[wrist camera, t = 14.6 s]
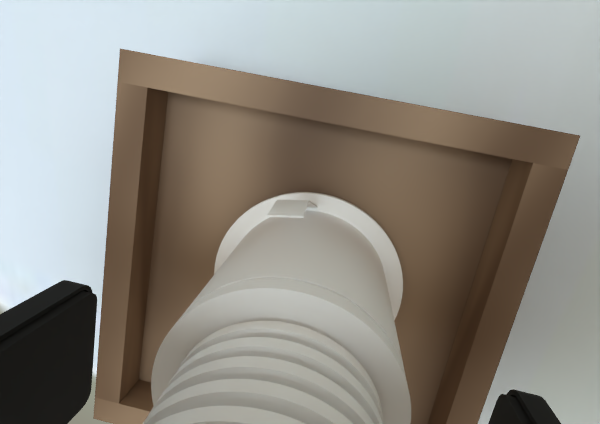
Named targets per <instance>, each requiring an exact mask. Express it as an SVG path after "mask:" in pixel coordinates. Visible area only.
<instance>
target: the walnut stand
mask: <svg viewBox="0 0 600 424" xmlns="http://www.w3.org/2000/svg"><path fill="white" fill-rule="evenodd" d="M579 138H580V136H579V135H574V134H568V133H563V132H558V131H552V130H547V129H542V128H537V127H531V126H526V125H521V124H515V123H510V122H505V121H500V120H494V119H489V118H484V117H478V116H473V115H468V114H463V113H457V112H452V111H447V110H441V109H436V108H431V107H426V106H420V105H415V104H410V103H404V102H399V101H394V100H389V99H383V98H378V97H373V96H367V95H362V94H357V93H352V92H346V91H341V90H336V89H330V88H325V87H320V86H315V85H309V84H304V83H299V82H293V81H288V80H283V79H278V78H272V77H267V76H262V75H256V74H251V73H246V72H241V71H235V70H230V69H225V68H219V67H214V66H209V65H204V64H198V63H193V62H188V61H182V60H177V59H172V58H167V57H161V56H156V55H151V54H145V53H140V52H135V51H130V50H124V49H120V58H119V72H118V86H117V100H116V113H115V127H114V141H113V155H112V169H111V183H110V197H109V211H108V224H107V238H106V252H105V266H104V280H103V294H102V308H101V322H100V335H99V349H98V363H97V377H96V391H95V405H94V419H97V420H101V421H105V422H109V423H113V424H143V422H144V421H145V419H146V418H147V417H148V415H149V413H150V412H151V410H152V408H153V407H154V406H153V401H152V392H151V377H152V370H153V365H154V361H155V358H156V355H157V352H158V350H159V347H160V345H161V344H162V342H163V340H164V338H165V337H166V335H167V334H168V332H169V331H170V330H171V328H172V327H173V326H174V325H175V323H176V322H177V321H178V320H179V319H180V317H181V316H182V315H183V314H184V312H185V311H186V310H187V308H188V307H189V306H190V305H191V303H192V302H193V301H194V300H195V298H196V297H197V296H198V295H199V293H200V292H201V291H202V290H203V288H204V287H205V286H206V284H207V283H208V282H209V281H210V279H211V278H212V277H213V276H214V268H215V261H216V256H217V253H218V250H219V247H220V245H221V242H222V240H223V238H224V237H225V235H226V233H227V232H228V230H229V229H230V227H231V226H232V225H233V224H234V223H235V222H236V220H237V219H238V218H239V217H240V216H242V215H243V214H244V213H245V212H246V211H248V210H249V209H250V208H252V207H253V206H255V205H257V204H258V203H260V202H262V201H264V200H267V199H269V198H272V197H275V196H278V195H282V194H287V193H295V192H313V193H321V194H326V195H330V196H334V197H337V198H340V199H342V200H345V201H347V202H349V203H351V204H353V205H355V206H356V207H358V208H360V209H361V210H363V211H364V212H365V213H367V214H368V215H369V216H371V217H372V218H373V219H374V220H375V221H376V222H377V223H378V224H379V225H380V226H381V228H382V229H383V230H384V231H385V233H386V234H387V235H388V237H389V239H390V240H391V242H392V244H393V246H394V248H395V250H396V252H397V255H398V258H399V261H400V265H401V270H402V277H403V293H402V300H401V304H400V308H399V311H398V314H397V316H396V318H395V320H394V322H395V327H396V332H397V336H398V341H399V346H400V351H401V356H402V361H403V366H404V371H405V376H406V381H407V385H408V390H409V394H410V401H411V423H410V424H477V423H478V420H479V418H480V415H481V412H482V409H483V406H484V404H485V401H486V398H487V395H488V393H489V390H490V387H491V384H492V381H493V379H494V376H495V373H496V370H497V367H498V365H499V362H500V359H501V356H502V353H503V351H504V348H505V345H506V342H507V339H508V337H509V334H510V331H511V328H512V325H513V323H514V320H515V317H516V314H517V311H518V309H519V306H520V303H521V300H522V297H523V295H524V292H525V289H526V286H527V283H528V281H529V278H530V275H531V272H532V269H533V267H534V264H535V261H536V258H537V255H538V253H539V250H540V247H541V244H542V241H543V239H544V236H545V233H546V230H547V227H548V225H549V222H550V219H551V216H552V213H553V211H554V208H555V205H556V202H557V199H558V197H559V194H560V191H561V188H562V185H563V183H564V180H565V177H566V174H567V171H568V169H569V166H570V163H571V160H572V157H573V155H574V152H575V149H576V146H577V143H578V141H579Z"/></svg>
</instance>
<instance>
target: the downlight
mask: <svg viewBox="0 0 600 424" xmlns="http://www.w3.org/2000/svg"><path fill="white" fill-rule="evenodd" d="M402 293H403V277H402V270H401V265H400V261H399V258H398V255H397V252H396V250H395V248H394V246H393V244H392V242H391V240H390V239H389V237H388V235H387V234H386V233H385V231H384V230H383V229H382V228H381V226H380V225H379V224H378V223H377V222H376V221H375V220H374V219H373V218H372V217H371V216H369V215H368V214H367V213H365V212H364V211H363V210H361V209H360V208H358V207H356V206H355V205H353V204H351V203H349V202H347V201H345V200H342V199H340V198H337V197H334V196H330V195H326V194H321V193H313V192H295V193H287V194H282V195H278V196H275V197H272V198H269V199H267V200H264V201H262V202H260V203H258V204H257V205H255V206H253V207H252V208H250V209H249V210H248V211H246V212H245V213H244V214H243V215H242V216H240V217H239V218H238V219H237V220H236V222H235V223H234V224H233V225H232V226H231V227H230V229H229V230H228V232H227V233H226V235H225V237H224V238H223V240H222V242H221V245H220V247H219V250H218V253H217V256H216V261H215V268H214V276H213V277H212V278H211V279H210V281H209V282H208V283H207V284H206V286H205V287H204V288H203V290H202V291H201V292H200V293H199V295H198V296H197V297H196V298H195V300H194V301H193V302H192V303H191V305H190V306H189V307H188V308H187V310H186V311H185V312H184V314H183V315H182V316H181V317H180V319H179V320H178V321H177V322H176V323H175V325H174V326H173V327H172V328H171V330H170V331H169V332H168V334H167V335H166V337H165V338H164V340H163V342H162V344H161V345H160V347H159V350H158V352H157V355H156V358H155V361H154V365H153V370H152V377H151V392H152V401H153V406H154V407H153V408H152V410H151V412H150V413H149V415H148V417H147V418H146V419H145V421H144V422H143V424H410V423H411V401H410V394H409V390H408V385H407V381H406V376H405V371H404V366H403V361H402V356H401V351H400V346H399V341H398V336H397V332H396V327H395V322H394V320H395V318H396V316H397V314H398V311H399V308H400V304H401V300H402Z"/></svg>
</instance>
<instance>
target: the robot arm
mask: <svg viewBox="0 0 600 424" xmlns="http://www.w3.org/2000/svg"><path fill="white" fill-rule="evenodd" d="M96 308H97V297H96V295H95V294H93V293H92V290H91V287H89V286H87V285H83V284H79V283H75V282H71V281H66V280H64V281H61V282H59V283H57V284H55V285H53V286H51V287H50V288H48V289H46V290H44V291H42V292H40V293H39V294H37V295H35V296H33V297H31V298H29V299H28V300H26V301H24V302H22V303H20V304H18V305H17V306H15V307H13V308H11V309H9V310H7V311H6V312H4V313H2V314H0V424H67V423H68V422H69V421H70V420H71V419H72V418H73V417H74V416H75V415H76V414H77V413H78V412H79V411H80V410H81V408H83V406H84V405H85V404H86V402H87V400H88V398H89V395H90V392H91V383H92V368H93V353H94V338H95V323H96ZM489 424H561V423H560V421H559V420H558V418H557V417H556V416H555V414H554V413H553V411H552V410H551V408H550V407H549V405H548V404H547V402H546V401H545V400H544V399H543V398H542V397H540V396H538V395H533V394H529V393H525V392H521V391H517V390H510V391H509V392H508V393H507V395H504V394H502V395H500V396H499V397H498V400H497V402H496V405H495V407H494V410H493V413H492V416H491V418H490V421H489Z"/></svg>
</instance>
